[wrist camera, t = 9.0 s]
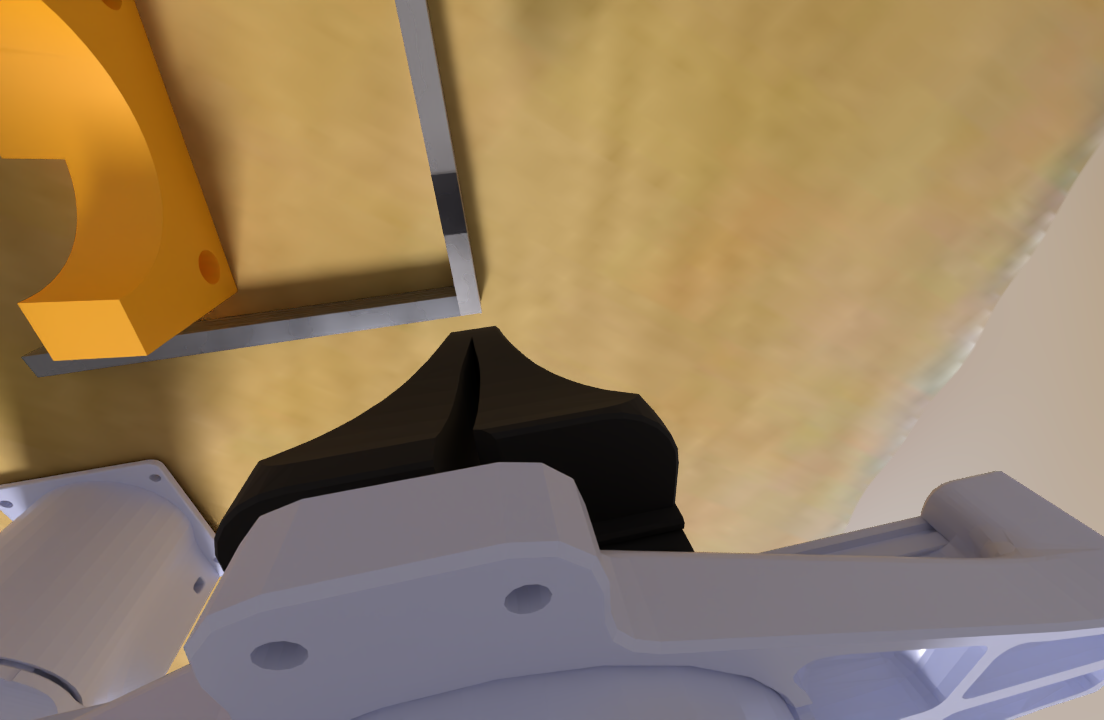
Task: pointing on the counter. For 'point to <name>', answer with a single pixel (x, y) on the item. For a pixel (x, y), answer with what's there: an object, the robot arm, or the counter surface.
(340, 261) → the counter surface
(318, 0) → the counter surface
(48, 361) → the frame
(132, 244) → the pipe clamp
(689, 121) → the counter surface
